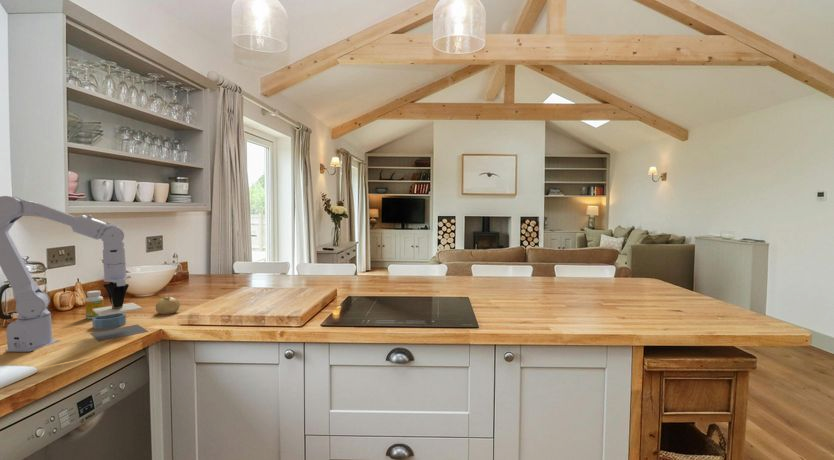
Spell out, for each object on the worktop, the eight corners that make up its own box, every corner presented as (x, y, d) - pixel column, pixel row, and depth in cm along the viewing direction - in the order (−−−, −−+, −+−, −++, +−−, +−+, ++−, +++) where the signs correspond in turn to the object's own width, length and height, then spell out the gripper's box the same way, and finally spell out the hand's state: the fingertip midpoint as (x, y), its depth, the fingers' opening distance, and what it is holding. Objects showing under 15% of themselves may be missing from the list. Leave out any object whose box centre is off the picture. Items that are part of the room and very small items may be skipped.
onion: (150, 316, 157) (149, 297, 157) (168, 310, 165) (167, 292, 164) (167, 317, 155) (166, 298, 154) (185, 311, 162) (184, 293, 162)
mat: (148, 332, 135) (148, 331, 135) (98, 342, 126) (98, 341, 126) (137, 325, 144) (137, 324, 144) (90, 334, 134) (90, 333, 134)
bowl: (111, 330, 139) (111, 319, 138) (86, 330, 139) (85, 319, 139) (132, 322, 148) (131, 312, 147) (108, 322, 148) (107, 313, 148)
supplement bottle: (94, 319, 153) (92, 293, 153) (82, 319, 155) (80, 292, 154) (108, 315, 159) (106, 290, 158) (96, 315, 160) (94, 289, 159)
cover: (142, 309, 135) (141, 295, 135) (99, 316, 127) (98, 301, 127) (133, 304, 142) (132, 290, 142) (92, 310, 134) (91, 296, 134)
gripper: (135, 264, 132) (137, 307, 132) (124, 260, 142) (126, 300, 142) (107, 266, 127) (110, 311, 127) (98, 263, 137) (100, 304, 137)
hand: (117, 306), depth 135 cm, fingers closed on cover, 3 cm apart
